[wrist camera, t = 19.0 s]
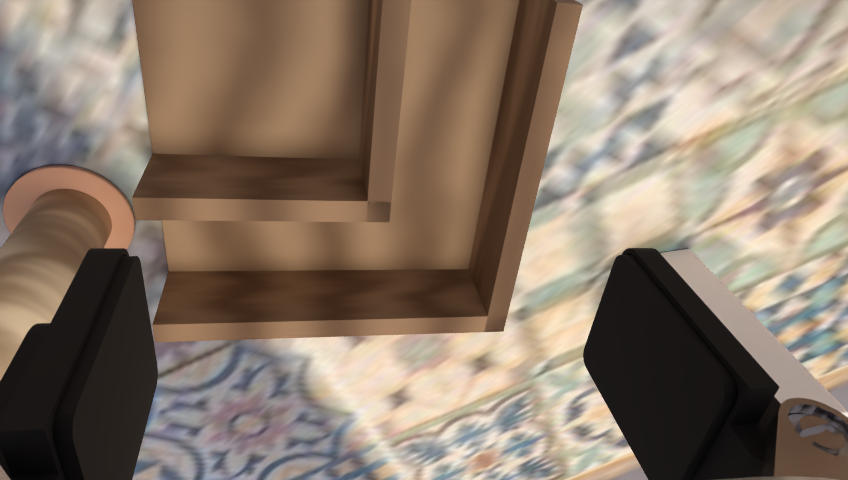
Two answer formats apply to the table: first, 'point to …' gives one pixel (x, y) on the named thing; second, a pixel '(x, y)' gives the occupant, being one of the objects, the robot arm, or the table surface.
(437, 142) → the channel board
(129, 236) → the pad
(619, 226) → the table surface
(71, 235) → the beech peg
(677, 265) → the milk
